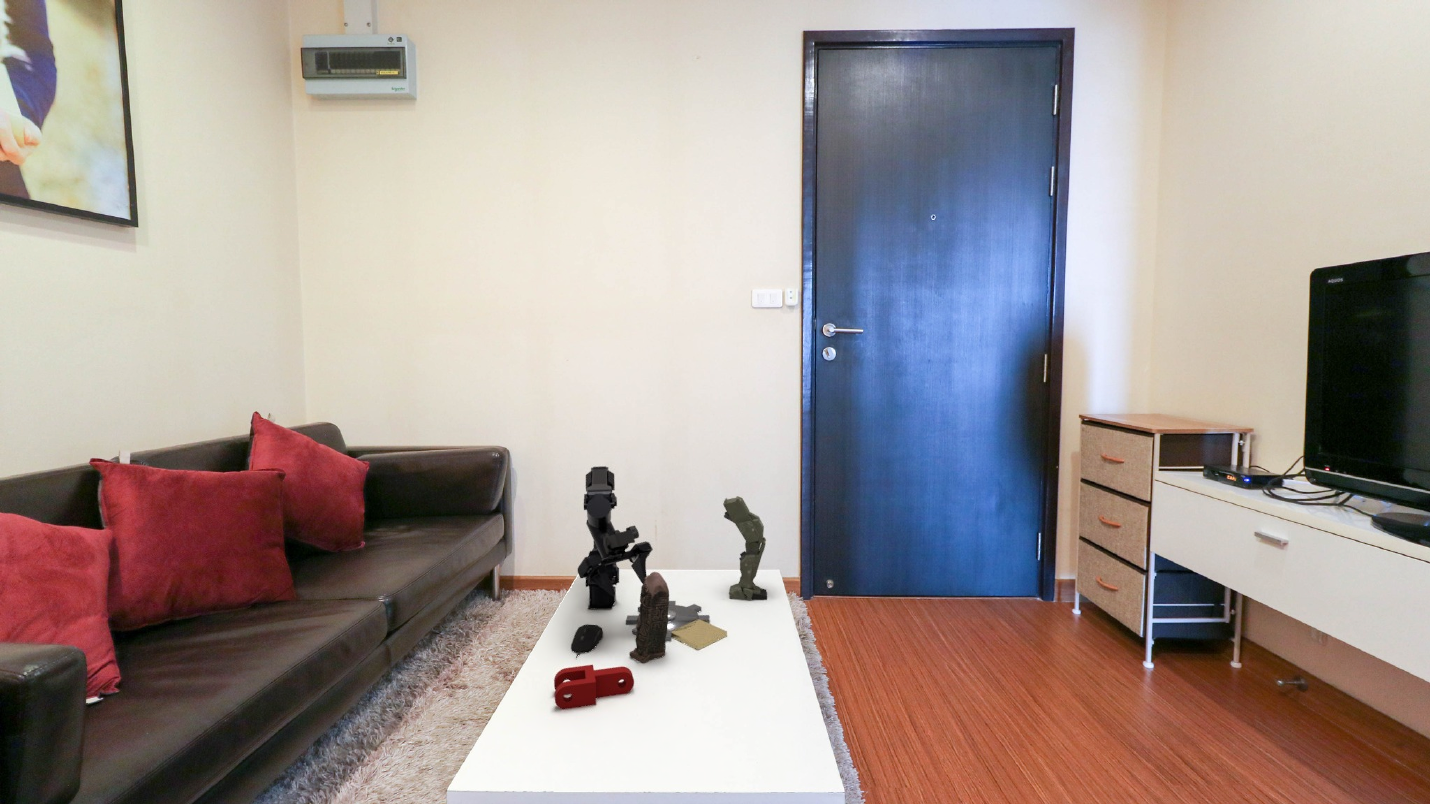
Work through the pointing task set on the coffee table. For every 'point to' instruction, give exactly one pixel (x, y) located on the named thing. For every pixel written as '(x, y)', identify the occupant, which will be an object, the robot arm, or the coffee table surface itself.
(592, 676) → the mechanical linkage
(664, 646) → the statue
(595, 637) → the gaming mouse
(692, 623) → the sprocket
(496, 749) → the coffee table surface
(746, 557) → the mechanical leg
